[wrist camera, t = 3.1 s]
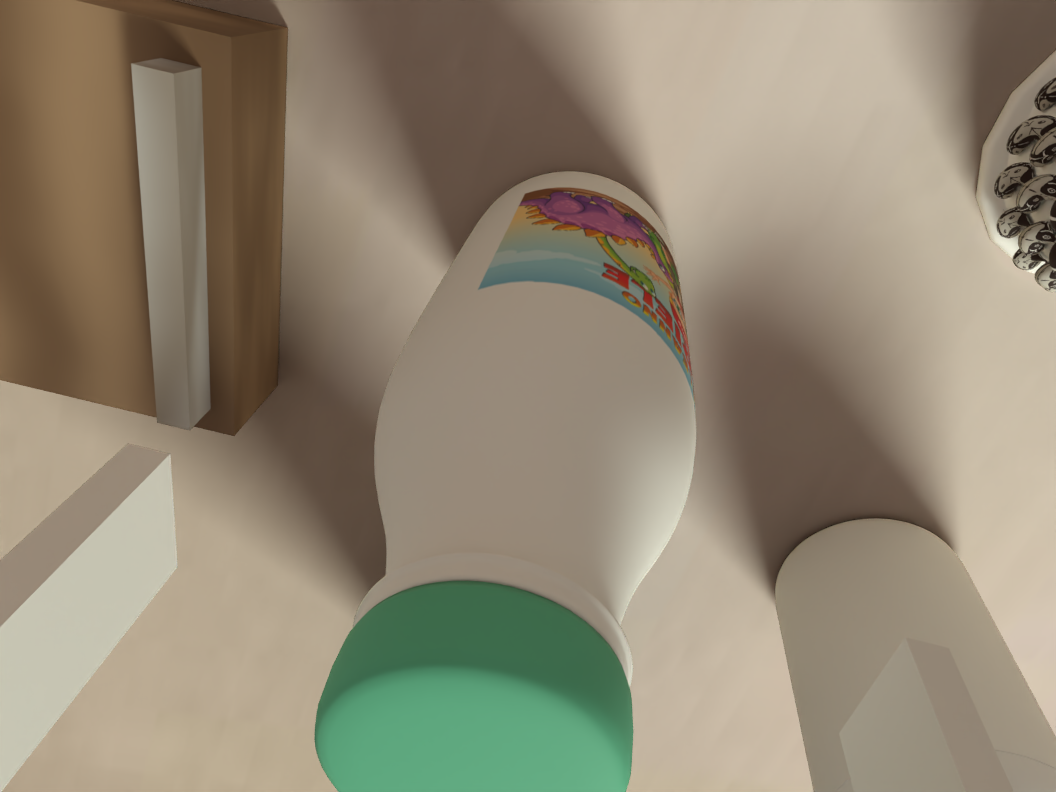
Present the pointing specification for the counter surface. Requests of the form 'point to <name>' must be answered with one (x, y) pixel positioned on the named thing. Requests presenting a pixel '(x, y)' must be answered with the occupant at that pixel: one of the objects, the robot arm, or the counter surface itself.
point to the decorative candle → (1024, 176)
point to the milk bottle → (520, 505)
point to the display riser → (142, 206)
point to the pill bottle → (897, 642)
